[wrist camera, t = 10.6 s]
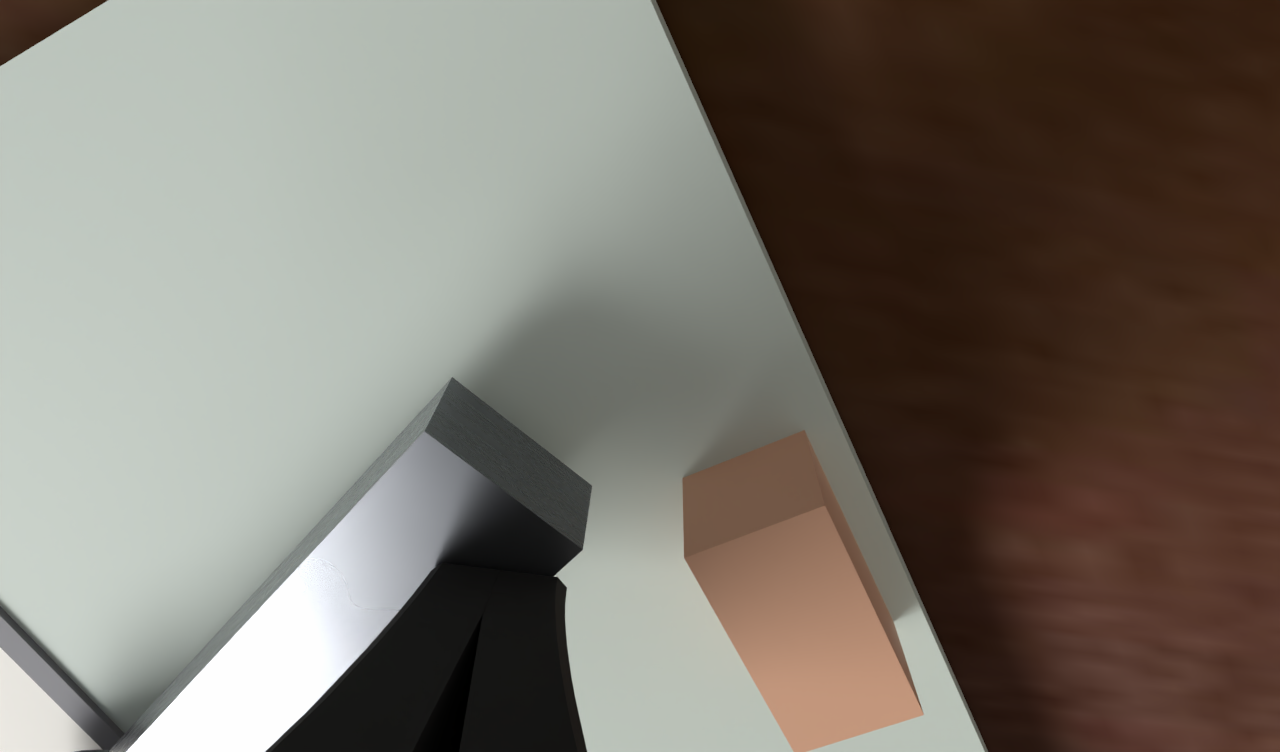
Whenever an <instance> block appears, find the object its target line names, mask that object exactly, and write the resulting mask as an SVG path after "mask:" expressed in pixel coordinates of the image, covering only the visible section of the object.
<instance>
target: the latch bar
mask: <svg viewBox="0 0 1280 752" xmlns="http://www.w3.org/2000/svg"><path fill="white" fill-rule="evenodd" d="M591 491H592V485H591V484H589V483H588V482H587V481H586V480H584V479H583V478H582V477H580V476H579V475H578V474H576V473H575V472H574V471H573V470H571V469H570V468H569V467H567V466H566V465H565V464H564V463H562V462H561V461H560V460H558V459H557V458H556V457H555V456H553V455H552V454H551V453H549V452H548V451H547V450H546V449H544V448H543V447H542V446H540V445H539V444H538V443H537V442H535V441H534V440H533V439H531V438H530V437H529V436H528V435H526V434H525V433H524V432H522V431H521V430H520V429H519V428H517V427H516V426H515V425H513V424H512V423H511V422H510V421H508V420H507V419H506V418H504V417H503V416H502V415H501V414H499V413H498V412H497V411H495V410H494V409H493V408H492V407H490V406H489V405H488V404H486V403H485V402H484V401H482V400H481V399H480V398H479V397H477V396H476V395H475V394H473V393H472V392H471V391H470V390H468V389H467V388H466V387H464V386H463V385H462V384H461V383H459V382H458V381H457V380H455V379H454V378H453V377H451V379H450V380H449V381H448V382H447V383H446V384H445V385H444V386H443V387H442V388H441V389H440V391H439V392H438V393H437V394H436V395H435V396H434V397H433V398H432V399H431V400H430V401H429V403H428V404H427V405H426V406H425V407H424V408H423V409H422V410H421V411H420V412H419V413H418V415H417V416H416V417H415V418H414V419H413V420H412V421H411V422H410V423H409V424H408V425H407V427H406V428H405V429H404V430H403V431H402V432H401V433H400V434H399V435H398V436H397V437H396V438H395V440H394V441H393V442H392V443H391V444H390V445H389V446H388V447H387V448H386V449H385V450H384V452H383V453H382V454H381V455H380V456H379V457H378V458H377V459H376V460H375V461H374V462H373V464H372V465H371V466H370V467H369V468H368V469H367V470H366V471H365V472H364V473H363V474H362V476H361V477H360V478H359V479H358V480H357V481H356V482H355V483H354V484H353V485H352V486H351V488H350V489H349V490H348V491H347V492H346V493H345V494H344V495H343V496H342V497H341V498H340V500H339V501H338V502H337V503H336V504H335V505H334V506H333V507H332V508H331V509H330V510H329V511H328V513H327V514H326V515H325V516H324V517H323V518H322V519H321V520H320V521H319V522H318V523H317V525H316V526H315V527H314V528H313V529H312V530H311V531H310V532H309V533H308V534H307V535H306V537H305V538H304V539H303V540H302V541H301V542H300V543H299V544H298V545H297V546H296V547H295V549H294V550H293V551H292V552H291V553H290V554H289V555H288V556H287V557H286V558H285V559H284V561H283V562H282V563H281V564H280V565H279V566H278V567H277V568H276V569H275V570H274V571H273V573H272V574H271V575H270V576H269V577H268V578H267V579H266V580H265V581H264V582H263V583H262V584H261V586H260V587H259V588H258V589H257V590H256V591H255V592H254V593H253V594H252V595H251V596H250V598H249V599H248V600H247V601H246V602H245V603H244V604H243V605H242V606H241V607H240V608H239V610H238V611H237V612H236V613H235V614H234V615H233V616H232V617H231V618H230V619H229V620H228V622H227V623H226V624H225V625H224V626H223V627H222V628H221V629H220V630H219V631H218V632H217V634H216V635H215V636H214V637H213V638H212V639H211V640H210V641H209V642H208V643H207V644H206V646H205V647H204V648H203V649H202V650H201V651H200V652H199V653H198V654H197V655H196V656H195V657H194V659H193V660H192V661H191V662H190V663H189V664H188V665H187V666H186V667H185V668H184V669H183V671H182V672H181V673H180V674H179V675H178V676H177V677H176V678H175V679H174V680H173V681H172V683H171V684H170V685H169V686H168V687H167V688H166V689H165V690H164V691H163V692H162V693H161V695H160V696H159V697H158V698H157V699H156V700H155V701H154V702H153V703H152V704H151V705H150V707H149V708H148V709H147V710H146V711H145V712H144V713H143V714H142V715H141V716H140V717H139V719H138V720H137V721H136V722H135V723H134V724H133V725H132V726H131V727H130V728H129V729H128V730H127V732H126V733H125V734H124V735H123V736H122V737H121V738H120V739H119V740H118V741H117V742H116V744H115V745H114V746H113V747H112V748H111V749H110V750H98V749H96V750H81V751H75V752H265V751H266V750H267V749H268V748H269V747H270V746H271V745H272V744H274V743H275V742H276V741H277V740H278V739H279V738H280V737H281V736H282V735H283V734H284V733H285V732H286V731H287V730H288V729H289V728H290V727H291V726H292V725H293V724H294V723H296V722H297V721H298V720H299V719H300V718H301V717H302V716H303V715H304V714H305V713H306V712H307V711H308V710H309V709H310V708H311V707H312V706H313V705H314V704H315V703H316V702H317V701H318V700H319V699H320V698H321V697H322V695H323V694H324V693H325V692H326V691H327V690H328V689H329V688H330V687H331V686H332V685H333V684H334V683H335V682H336V681H337V680H338V678H339V677H340V676H341V675H342V674H343V673H344V672H345V671H346V670H347V669H348V668H349V667H350V666H351V665H352V664H353V663H354V661H355V660H356V659H357V658H358V657H359V656H360V655H361V654H362V653H363V652H364V651H365V650H366V649H367V648H368V646H369V645H370V644H371V643H372V642H373V641H374V640H375V638H376V637H377V636H378V635H379V634H380V633H381V632H382V630H383V629H384V628H385V627H386V626H387V625H388V624H389V622H390V621H391V620H392V619H393V618H394V617H395V615H396V614H397V613H398V612H399V611H400V609H401V608H402V607H403V606H404V605H405V603H406V602H407V601H408V600H409V598H410V597H411V596H412V595H413V593H414V592H415V591H416V590H417V588H418V587H419V586H420V585H421V583H422V582H423V581H424V579H425V578H426V577H427V575H428V574H429V573H430V571H431V570H432V569H434V568H435V567H437V566H438V565H440V564H441V563H449V564H457V565H465V566H473V567H481V568H489V569H497V570H505V571H513V572H521V573H529V574H537V575H545V576H555V575H556V574H557V573H558V572H559V571H560V570H561V569H562V568H563V567H564V566H566V565H567V564H568V563H569V562H570V561H571V560H572V559H573V558H574V557H575V556H577V555H578V554H579V553H580V552H581V551H582V550H583V546H584V539H585V532H586V525H587V518H588V511H589V504H590V498H591Z"/></svg>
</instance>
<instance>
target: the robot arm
mask: <svg viewBox="0 0 1280 752" xmlns="http://www.w3.org/2000/svg"><path fill="white" fill-rule="evenodd" d="M566 592H567V587H566V586H565V585H564V584H563V582H562V581H561V580H560V579H559V578H558V577H553V576H545V575H537V574H529V573H521V572H513V571H505V570H497V569H489V568H481V567H473V566H465V565H457V564H449V563H441V564H440V565H438V566H437V567H435V568H434V569H432V570H431V571H430V573H429V574H428V575H427V577H426V578H425V579H424V581H423V582H422V583H421V585H420V586H419V587H418V588H417V590H416V591H415V592H414V593H413V595H412V596H411V597H410V598H409V600H408V601H407V602H406V603H405V605H404V606H403V607H402V608H401V609H400V611H399V612H398V613H397V614H396V615H395V617H394V618H393V619H392V620H391V621H390V622H389V624H388V625H387V626H386V627H385V628H384V629H383V630H382V632H381V633H380V634H379V635H378V636H377V637H376V638H375V640H374V641H373V642H372V643H371V644H370V645H369V646H368V648H367V649H366V650H365V651H364V652H363V653H362V654H361V655H360V656H359V657H358V658H357V659H356V660H355V661H354V663H353V664H352V665H351V666H350V667H349V668H348V669H347V670H346V671H345V672H344V673H343V674H342V675H341V676H340V677H339V678H338V680H337V681H336V682H335V683H334V684H333V685H332V686H331V687H330V688H329V689H328V690H327V691H326V692H325V693H324V694H323V695H322V697H321V698H320V699H319V700H318V701H317V702H316V703H315V704H314V705H313V706H312V707H311V708H310V709H309V710H308V711H307V712H306V713H305V714H304V715H303V716H302V717H301V718H300V719H299V720H298V721H297V722H296V723H294V724H293V725H292V726H291V727H290V728H289V729H288V730H287V731H286V732H285V733H284V734H283V735H282V736H281V737H280V738H279V739H278V740H277V741H276V742H275V743H274V744H272V745H271V746H270V747H269V748H268V749H267V750H266V751H265V752H587V749H586V744H585V740H584V735H583V731H582V726H581V722H580V717H579V713H578V708H577V704H576V699H575V694H574V688H573V683H572V677H571V671H570V663H569V656H568V648H567V639H566V626H565V601H566Z"/></svg>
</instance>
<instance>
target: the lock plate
mask: <svg viewBox="0 0 1280 752" xmlns="http://www.w3.org/2000/svg"><path fill="white" fill-rule="evenodd" d="M451 377H453V378H454V379H455V380H457V381H458V382H459V383H461V384H462V385H463V386H464V387H466V388H467V389H468V390H470V391H471V392H472V393H473V394H475V395H476V396H477V397H479V398H480V399H481V400H482V401H484V402H485V403H486V404H488V405H489V406H490V407H492V408H493V409H494V410H495V411H497V412H498V413H499V414H501V415H502V416H503V417H504V418H506V419H507V420H508V421H510V422H511V423H512V424H513V425H515V426H516V427H517V428H519V429H520V430H521V431H522V432H524V433H525V434H526V435H528V436H529V437H530V438H531V439H533V440H534V441H535V442H537V443H538V444H539V445H540V446H542V447H543V448H544V449H546V450H547V451H548V452H549V453H551V454H552V455H553V456H555V457H556V458H557V459H558V460H560V461H561V462H562V463H564V464H565V465H566V466H567V467H569V468H570V469H571V470H573V471H574V472H575V473H576V474H578V475H579V476H580V477H582V478H583V479H584V480H586V481H587V482H588V483H589V484H591V485H592V491H591V498H590V504H589V511H588V518H587V525H586V532H585V539H584V546H583V550H582V551H581V552H580V553H579V554H578V555H577V556H575V557H574V558H573V559H572V560H571V561H570V562H569V563H568V564H567V565H566V566H564V567H563V568H562V569H561V570H560V571H559V572H558V573H557V574H556V575H555V576H553V577H558V578H559V579H560V580H561V581H562V582H563V584H564V585H565V586H566V587H567V592H566V601H565V626H566V639H567V648H568V656H569V663H570V671H571V677H572V683H573V688H574V694H575V699H576V704H577V708H578V713H579V717H580V722H581V726H582V731H583V735H584V740H585V744H586V749H587V752H988V750H987V748H986V745H985V743H984V741H983V739H982V736H981V734H980V732H979V730H978V727H977V725H976V723H975V721H974V718H973V716H972V714H971V711H970V709H969V707H968V705H967V702H966V700H965V698H964V696H963V693H962V691H961V689H960V687H959V684H958V682H957V680H956V678H955V675H954V673H953V671H952V669H951V666H950V664H949V662H948V660H947V657H946V655H945V653H944V650H943V648H942V646H941V644H940V641H939V639H938V637H937V635H936V632H935V630H934V628H933V626H932V623H931V621H930V619H929V617H928V614H927V612H926V610H925V608H924V605H923V603H922V601H921V599H920V596H919V594H918V592H917V590H916V587H915V585H914V583H913V580H912V578H911V576H910V574H909V571H908V569H907V567H906V565H905V562H904V560H903V558H902V556H901V553H900V551H899V549H898V547H897V544H896V542H895V540H894V538H893V535H892V533H891V531H890V529H889V526H888V524H887V522H886V519H885V517H884V515H883V513H882V510H881V508H880V506H879V504H878V501H877V499H876V497H875V495H874V492H873V490H872V488H871V486H870V483H869V481H868V479H867V477H866V474H865V472H864V470H863V468H862V465H861V463H860V461H859V459H858V456H857V454H856V452H855V449H854V447H853V445H852V443H851V440H850V438H849V436H848V434H847V431H846V429H845V427H844V425H843V422H842V420H841V418H840V416H839V413H838V411H837V409H836V407H835V404H834V402H833V400H832V398H831V395H830V393H829V391H828V388H827V386H826V384H825V382H824V379H823V377H822V375H821V373H820V370H819V368H818V366H817V364H816V361H815V359H814V357H813V355H812V352H811V350H810V348H809V346H808V343H807V341H806V339H805V337H804V334H803V332H802V330H801V328H800V325H799V323H798V321H797V318H796V316H795V314H794V312H793V309H792V307H791V305H790V303H789V300H788V298H787V296H786V294H785V291H784V289H783V287H782V285H781V282H780V280H779V278H778V276H777V273H776V271H775V269H774V267H773V264H772V262H771V260H770V257H769V255H768V253H767V251H766V248H765V246H764V244H763V242H762V239H761V237H760V235H759V233H758V230H757V228H756V226H755V224H754V221H753V219H752V217H751V215H750V212H749V210H748V208H747V206H746V203H745V201H744V199H743V197H742V194H741V192H740V190H739V187H738V185H737V183H736V181H735V178H734V176H733V174H732V172H731V169H730V167H729V165H728V163H727V160H726V158H725V156H724V154H723V151H722V149H721V147H720V145H719V142H718V140H717V138H716V136H715V133H714V131H713V129H712V126H711V124H710V122H709V120H708V117H707V115H706V113H705V111H704V108H703V106H702V104H701V102H700V99H699V97H698V95H697V93H696V90H695V88H694V86H693V84H692V81H691V79H690V77H689V75H688V72H687V70H686V68H685V66H684V63H683V61H682V59H681V56H680V54H679V52H678V50H677V47H676V45H675V43H674V41H673V38H672V36H671V34H670V32H669V29H668V27H667V25H666V23H665V20H664V18H663V16H662V14H661V11H660V9H659V7H658V5H657V2H656V0H108V1H107V2H105V3H103V4H102V5H100V6H98V7H97V8H95V9H93V10H92V11H90V12H89V13H87V14H85V15H84V16H82V17H80V18H79V19H77V20H75V21H74V22H72V23H71V24H69V25H67V26H66V27H64V28H62V29H61V30H59V31H57V32H56V33H54V34H53V35H51V36H49V37H48V38H46V39H44V40H43V41H41V42H39V43H38V44H36V45H35V46H33V47H31V48H30V49H28V50H26V51H25V52H23V53H21V54H20V55H18V56H17V57H15V58H13V59H12V60H10V61H8V62H7V63H5V64H3V65H2V66H0V752H75V751H81V750H96V749H98V750H110V749H111V748H112V747H113V746H114V745H115V744H116V742H117V741H118V740H119V739H120V738H121V737H122V736H123V735H124V734H125V733H126V732H127V730H128V729H129V728H130V727H131V726H132V725H133V724H134V723H135V722H136V721H137V720H138V719H139V717H140V716H141V715H142V714H143V713H144V712H145V711H146V710H147V709H148V708H149V707H150V705H151V704H152V703H153V702H154V701H155V700H156V699H157V698H158V697H159V696H160V695H161V693H162V692H163V691H164V690H165V689H166V688H167V687H168V686H169V685H170V684H171V683H172V681H173V680H174V679H175V678H176V677H177V676H178V675H179V674H180V673H181V672H182V671H183V669H184V668H185V667H186V666H187V665H188V664H189V663H190V662H191V661H192V660H193V659H194V657H195V656H196V655H197V654H198V653H199V652H200V651H201V650H202V649H203V648H204V647H205V646H206V644H207V643H208V642H209V641H210V640H211V639H212V638H213V637H214V636H215V635H216V634H217V632H218V631H219V630H220V629H221V628H222V627H223V626H224V625H225V624H226V623H227V622H228V620H229V619H230V618H231V617H232V616H233V615H234V614H235V613H236V612H237V611H238V610H239V608H240V607H241V606H242V605H243V604H244V603H245V602H246V601H247V600H248V599H249V598H250V596H251V595H252V594H253V593H254V592H255V591H256V590H257V589H258V588H259V587H260V586H261V584H262V583H263V582H264V581H265V580H266V579H267V578H268V577H269V576H270V575H271V574H272V573H273V571H274V570H275V569H276V568H277V567H278V566H279V565H280V564H281V563H282V562H283V561H284V559H285V558H286V557H287V556H288V555H289V554H290V553H291V552H292V551H293V550H294V549H295V547H296V546H297V545H298V544H299V543H300V542H301V541H302V540H303V539H304V538H305V537H306V535H307V534H308V533H309V532H310V531H311V530H312V529H313V528H314V527H315V526H316V525H317V523H318V522H319V521H320V520H321V519H322V518H323V517H324V516H325V515H326V514H327V513H328V511H329V510H330V509H331V508H332V507H333V506H334V505H335V504H336V503H337V502H338V501H339V500H340V498H341V497H342V496H343V495H344V494H345V493H346V492H347V491H348V490H349V489H350V488H351V486H352V485H353V484H354V483H355V482H356V481H357V480H358V479H359V478H360V477H361V476H362V474H363V473H364V472H365V471H366V470H367V469H368V468H369V467H370V466H371V465H372V464H373V462H374V461H375V460H376V459H377V458H378V457H379V456H380V455H381V454H382V453H383V452H384V450H385V449H386V448H387V447H388V446H389V445H390V444H391V443H392V442H393V441H394V440H395V438H396V437H397V436H398V435H399V434H400V433H401V432H402V431H403V430H404V429H405V428H406V427H407V425H408V424H409V423H410V422H411V421H412V420H413V419H414V418H415V417H416V416H417V415H418V413H419V412H420V411H421V410H422V409H423V408H424V407H425V406H426V405H427V404H428V403H429V401H430V400H431V399H432V398H433V397H434V396H435V395H436V394H437V393H438V392H439V391H440V389H441V388H442V387H443V386H444V385H445V384H446V383H447V382H448V381H449V380H450V379H451Z"/></svg>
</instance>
